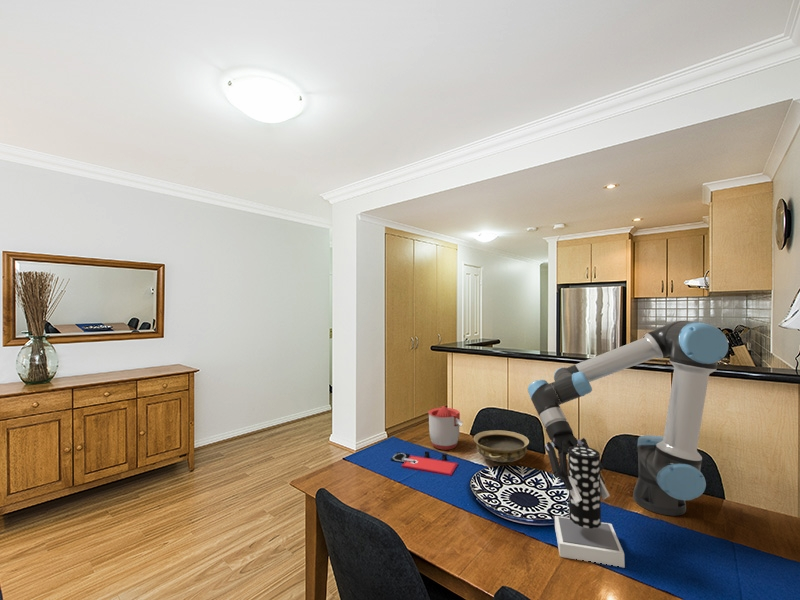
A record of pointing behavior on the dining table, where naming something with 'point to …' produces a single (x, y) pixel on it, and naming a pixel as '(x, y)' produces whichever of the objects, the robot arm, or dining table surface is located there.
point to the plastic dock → (588, 542)
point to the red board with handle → (426, 463)
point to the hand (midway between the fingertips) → (592, 499)
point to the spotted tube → (585, 486)
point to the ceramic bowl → (501, 446)
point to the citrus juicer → (444, 427)
